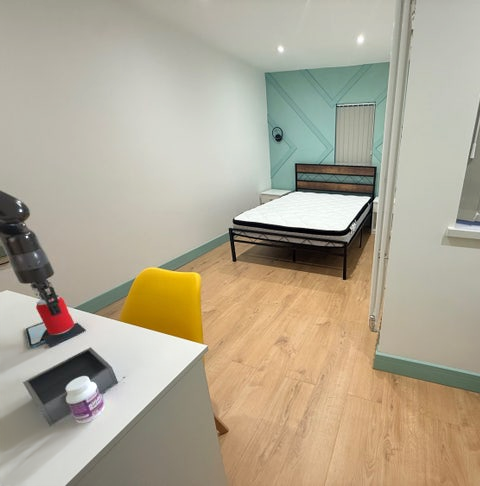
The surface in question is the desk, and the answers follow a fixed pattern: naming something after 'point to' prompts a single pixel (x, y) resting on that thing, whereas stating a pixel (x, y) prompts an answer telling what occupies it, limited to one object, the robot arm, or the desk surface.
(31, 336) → the smartphone
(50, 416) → the basin
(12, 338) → the desk surface
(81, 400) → the pill bottle
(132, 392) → the desk surface
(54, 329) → the beverage can
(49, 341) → the mat
